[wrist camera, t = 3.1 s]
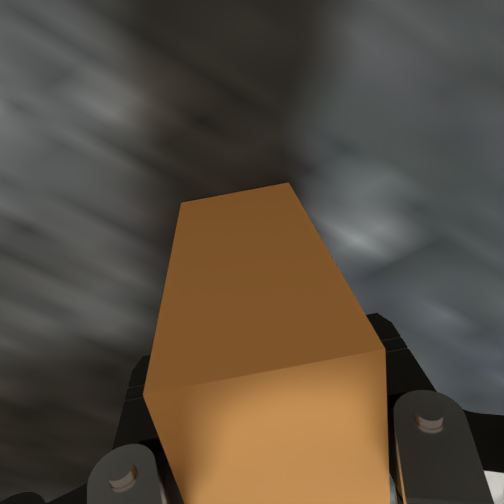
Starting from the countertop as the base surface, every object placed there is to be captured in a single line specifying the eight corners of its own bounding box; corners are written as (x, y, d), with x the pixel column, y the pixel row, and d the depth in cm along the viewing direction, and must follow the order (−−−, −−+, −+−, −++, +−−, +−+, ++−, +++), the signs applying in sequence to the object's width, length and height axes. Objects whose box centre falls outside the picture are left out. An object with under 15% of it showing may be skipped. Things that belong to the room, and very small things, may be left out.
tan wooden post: (288, 182, 15) (385, 348, 7) (305, 308, 18) (391, 546, 9) (181, 202, 15) (143, 395, 7) (212, 325, 18) (213, 580, 9)
